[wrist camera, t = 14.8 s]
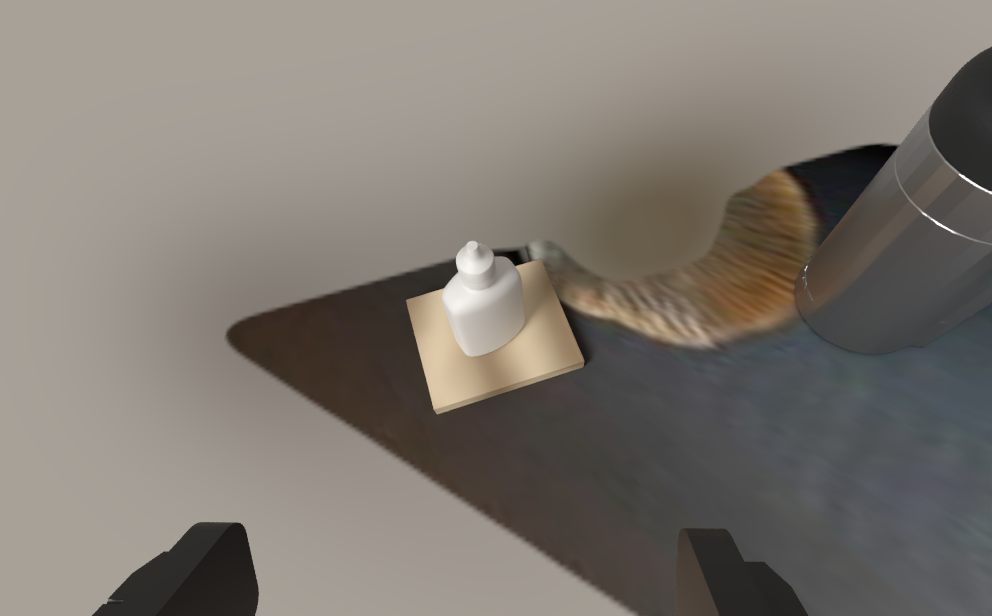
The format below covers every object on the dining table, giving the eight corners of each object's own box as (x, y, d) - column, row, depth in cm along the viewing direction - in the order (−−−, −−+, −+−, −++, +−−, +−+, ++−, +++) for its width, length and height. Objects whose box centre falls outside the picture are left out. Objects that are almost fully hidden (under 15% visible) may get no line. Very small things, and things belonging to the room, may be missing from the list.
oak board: (541, 266, 46) (540, 258, 45) (583, 367, 41) (584, 361, 40) (409, 306, 45) (406, 300, 44) (437, 414, 41) (434, 409, 40)
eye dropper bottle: (455, 310, 43) (426, 221, 33) (523, 304, 43) (515, 212, 33) (456, 359, 41) (425, 280, 31) (528, 353, 41) (521, 271, 30)
